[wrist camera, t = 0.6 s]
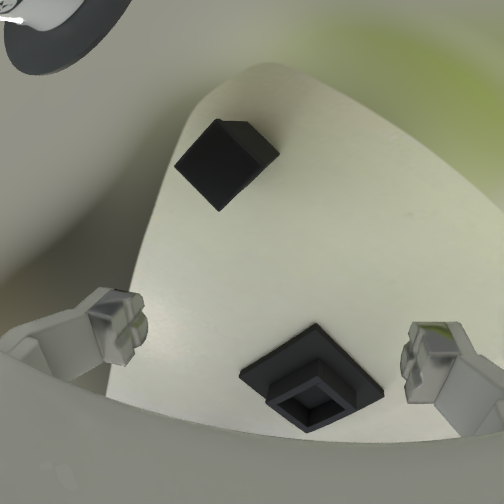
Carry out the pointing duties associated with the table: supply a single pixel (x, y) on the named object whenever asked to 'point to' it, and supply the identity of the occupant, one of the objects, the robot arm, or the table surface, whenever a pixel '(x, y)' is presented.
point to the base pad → (312, 381)
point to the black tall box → (225, 160)
